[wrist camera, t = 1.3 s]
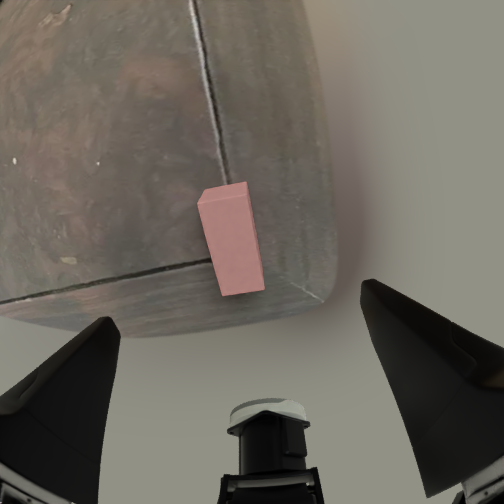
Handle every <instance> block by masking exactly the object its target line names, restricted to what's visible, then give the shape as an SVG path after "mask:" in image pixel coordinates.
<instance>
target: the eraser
mask: <svg viewBox="0 0 504 504" xmlns="http://www.w3.org/2000/svg"><path fill="white" fill-rule="evenodd" d="M197 206H198V210H199V214H200V218H201V222H202V225H203V229H204V233H205V237H206V240H207V244H208V248H209V251H210V255H211V259H212V262H213V266H214V269H215V273H216V276H217V280H218V283H219V287H220V290H221V293H222V296H227V295H234V294H241V293H248V292H254V291H261V290H265V286H264V276H263V267H262V261H261V255H260V250H259V244H258V239H257V233H256V228H255V222H254V217H253V212H252V206H251V201H250V195H249V190H248V185H247V182H241V183H235V184H230V185H224V186H219V187H214V188H209V189H205V190H204V192H203V194H202V195H201V197H200V199H199V201H198V203H197Z"/></svg>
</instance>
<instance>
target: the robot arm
mask: <svg viewBox="0 0 504 504" xmlns="http://www.w3.org/2000/svg"><path fill="white" fill-rule="evenodd" d="M360 304H361V308H362V311H363V314H364V317H365V320H366V324H367V327H368V330H369V333H370V337H371V340H372V343H373V345H374V348H375V351H376V353H377V355H378V358H379V360H380V362H381V365H382V367H383V370H384V372H385V374H386V377H387V379H388V382H389V384H390V387H391V389H392V392H393V394H394V397H395V400H396V402H397V405H398V408H399V411H400V413H401V416H402V419H403V422H404V424H405V427H406V430H407V433H408V436H409V439H410V442H411V445H412V447H413V452H414V455H415V458H416V461H417V465H418V468H419V472H420V475H421V479H422V482H423V486H424V490H425V494H426V497H427V498H430V497H432V496H434V495H436V494H439V493H441V492H443V491H444V490H447V489H449V488H451V487H453V486H455V485H457V484H458V483H460V482H461V484H462V487H463V490H462V491H460V492H459V493H457V495H456V497H455V499H454V501H453V503H452V504H504V348H503V347H501V346H499V345H496V344H494V343H492V342H490V341H488V340H486V339H484V338H482V337H480V336H478V335H476V334H474V333H472V332H470V331H468V330H466V329H465V328H463V327H461V326H459V325H457V324H456V323H454V322H451V321H450V320H449V319H447V318H445V317H443V316H441V315H440V314H438V313H436V312H434V311H433V310H431V309H429V308H427V307H425V306H424V305H422V304H420V303H418V302H416V301H415V300H413V299H411V298H409V297H407V296H405V295H403V294H402V293H400V292H398V291H396V290H394V289H392V288H391V287H389V286H387V285H385V284H383V283H381V282H379V281H377V280H375V279H369V280H364V281H363V282H362V284H361V297H360ZM120 339H121V336H120V332H119V330H118V328H117V327H116V325H115V323H114V322H113V320H112V318H111V317H109V316H106V317H100V318H98V319H97V320H96V321H95V322H93V323H92V324H91V325H89V326H88V327H87V328H86V329H84V330H83V331H82V332H80V333H79V334H78V335H77V336H75V337H74V338H73V339H72V340H70V341H69V342H68V343H67V344H65V345H64V346H63V347H62V348H60V349H59V350H58V351H57V352H56V353H54V354H53V355H52V356H51V357H49V358H48V359H47V360H46V361H44V362H43V363H42V364H41V365H40V366H39V367H37V368H36V369H35V370H34V371H32V372H31V373H30V374H29V375H28V376H26V377H25V378H24V379H23V380H21V381H20V382H19V383H17V384H16V385H15V386H13V387H12V388H11V389H9V390H8V391H7V392H5V393H4V394H3V395H1V396H0V504H71V502H73V503H75V504H98V489H99V476H100V463H101V455H102V446H103V439H104V432H105V426H106V420H107V414H108V408H109V403H110V398H111V393H112V388H113V383H114V378H115V373H116V367H117V360H118V353H119V346H120ZM308 427H310V422H308V421H305V420H301V419H297V418H293V417H290V416H286V415H283V414H279V413H276V412H273V411H269V410H263V411H260V412H259V413H257V414H255V415H253V416H251V417H250V418H248V419H246V420H244V421H242V422H240V423H238V424H236V425H234V426H232V427H230V428H229V429H227V433H228V434H230V435H234V436H238V437H239V475H230V474H224V476H223V478H221V488H220V495H219V499H218V502H217V504H324V498H323V494H322V489H321V484H320V479H319V474H318V469H317V467H313V468H311V469H306V463H305V457H306V456H307V449H306V442H305V435H304V429H306V428H308ZM308 482H309V485H308V486H307V485H306V483H308Z"/></svg>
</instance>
